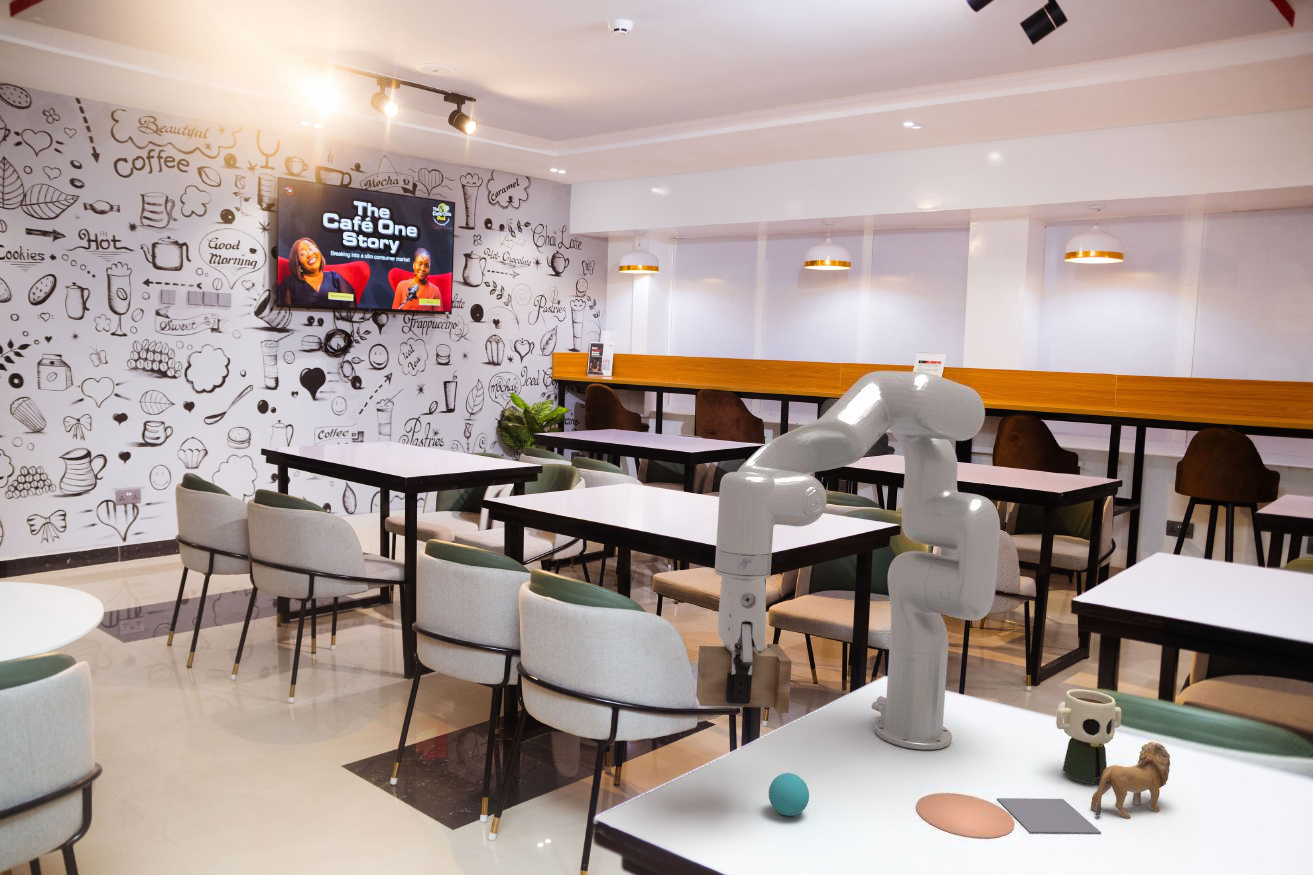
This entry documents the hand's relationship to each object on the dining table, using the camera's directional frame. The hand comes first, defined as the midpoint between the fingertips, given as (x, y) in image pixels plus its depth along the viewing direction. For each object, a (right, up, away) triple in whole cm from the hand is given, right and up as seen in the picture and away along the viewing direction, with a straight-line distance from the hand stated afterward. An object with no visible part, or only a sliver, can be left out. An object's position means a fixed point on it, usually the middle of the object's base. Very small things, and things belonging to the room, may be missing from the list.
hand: (734, 695), depth 126 cm
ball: (+7, -14, +1) cm, 16 cm away
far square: (+44, -18, +4) cm, 48 cm away
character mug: (+56, -18, +17) cm, 61 cm away
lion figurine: (+58, -19, +8) cm, 61 cm away
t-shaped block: (0, -1, 0) cm, 1 cm away
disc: (+32, -18, +3) cm, 37 cm away
